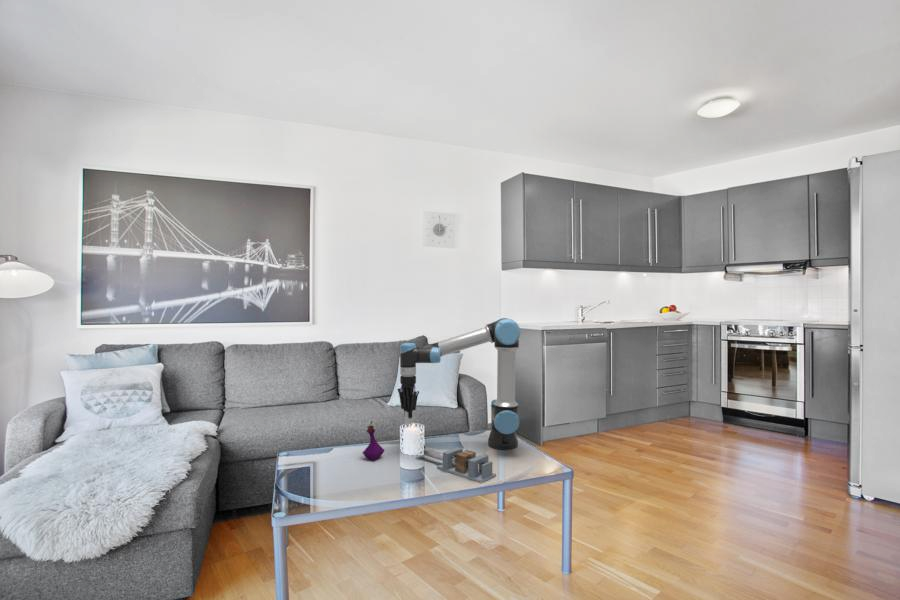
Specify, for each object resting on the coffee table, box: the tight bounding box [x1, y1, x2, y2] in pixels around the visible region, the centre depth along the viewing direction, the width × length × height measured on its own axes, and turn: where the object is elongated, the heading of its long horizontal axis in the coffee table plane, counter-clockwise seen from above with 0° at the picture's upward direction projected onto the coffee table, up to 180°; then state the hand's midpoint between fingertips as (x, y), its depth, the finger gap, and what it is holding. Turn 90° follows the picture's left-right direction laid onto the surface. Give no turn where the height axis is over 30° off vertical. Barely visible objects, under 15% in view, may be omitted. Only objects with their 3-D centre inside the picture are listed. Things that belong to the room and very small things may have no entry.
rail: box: [436, 446, 497, 484], centre depth 202 cm, size 10×25×8 cm, turn 48°
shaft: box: [423, 445, 455, 464], centre depth 213 cm, size 5×23×5 cm, turn 48°
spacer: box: [455, 449, 477, 474], centre depth 202 cm, size 8×5×7 cm, turn 138°
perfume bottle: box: [362, 419, 385, 461], centre depth 220 cm, size 8×8×18 cm
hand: (408, 424), depth 226 cm, fingers closed
